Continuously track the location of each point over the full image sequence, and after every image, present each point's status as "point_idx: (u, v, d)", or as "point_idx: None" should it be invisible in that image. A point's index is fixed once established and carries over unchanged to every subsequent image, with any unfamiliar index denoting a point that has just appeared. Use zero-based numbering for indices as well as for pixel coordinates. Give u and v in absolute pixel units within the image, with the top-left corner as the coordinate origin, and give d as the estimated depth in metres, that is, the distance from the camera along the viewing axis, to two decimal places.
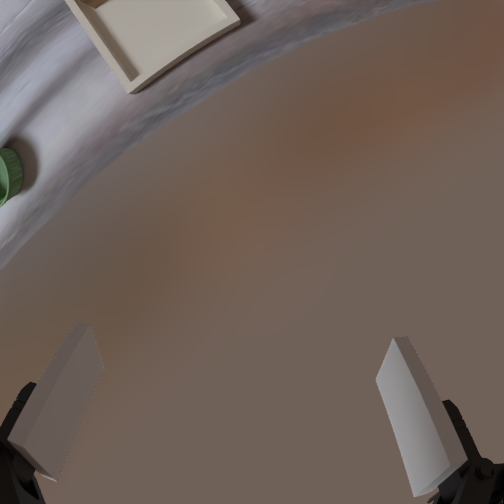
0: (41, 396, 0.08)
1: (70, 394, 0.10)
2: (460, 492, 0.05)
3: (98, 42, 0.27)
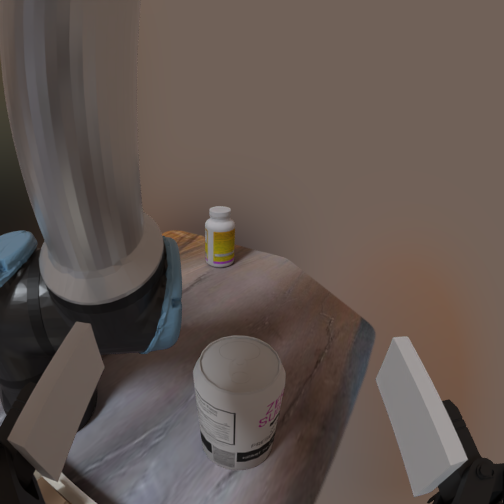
0: (41, 396, 0.08)
1: (70, 394, 0.10)
2: (460, 492, 0.05)
3: None
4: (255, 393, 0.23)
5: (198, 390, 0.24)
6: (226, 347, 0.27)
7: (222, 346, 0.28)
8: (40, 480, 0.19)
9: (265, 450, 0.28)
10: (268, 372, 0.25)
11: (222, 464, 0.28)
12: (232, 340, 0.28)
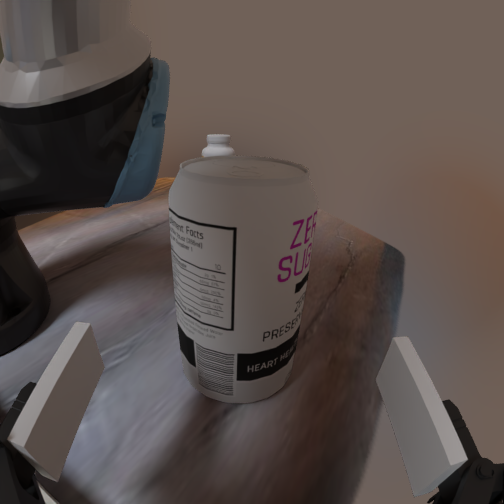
0: (41, 396, 0.08)
1: (70, 394, 0.10)
2: (460, 492, 0.05)
3: None
4: (272, 186, 0.14)
5: (174, 203, 0.15)
6: (222, 161, 0.18)
7: (218, 161, 0.18)
8: None
9: (284, 360, 0.19)
10: (291, 174, 0.16)
11: (212, 391, 0.19)
12: (232, 159, 0.19)
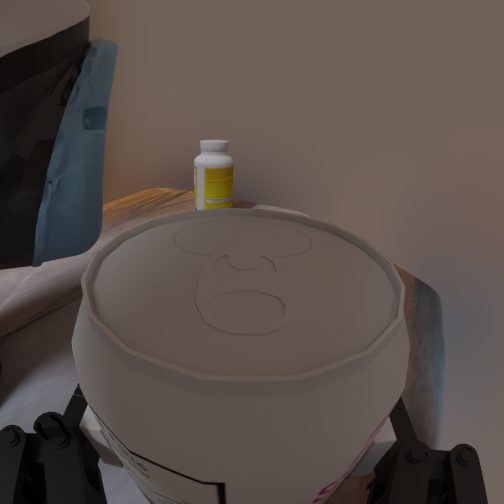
0: None
1: None
2: (392, 480, 0.06)
3: None
4: (332, 383, 0.04)
5: None
6: (197, 230, 0.09)
7: (187, 227, 0.09)
8: None
9: None
10: (362, 293, 0.06)
11: None
12: (220, 218, 0.10)
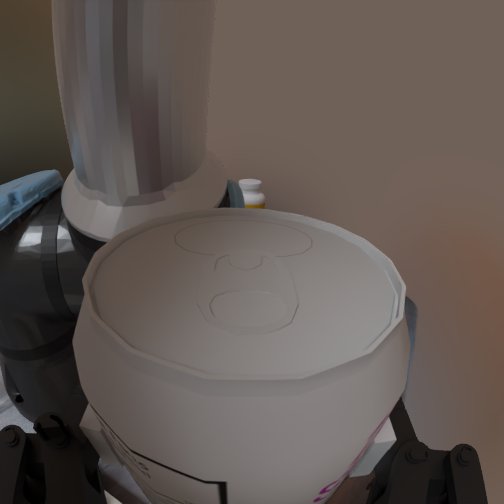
0: None
1: None
2: (391, 480, 0.06)
3: None
4: (334, 382, 0.04)
5: None
6: (199, 230, 0.09)
7: (188, 227, 0.09)
8: None
9: None
10: (363, 293, 0.06)
11: None
12: (221, 218, 0.10)
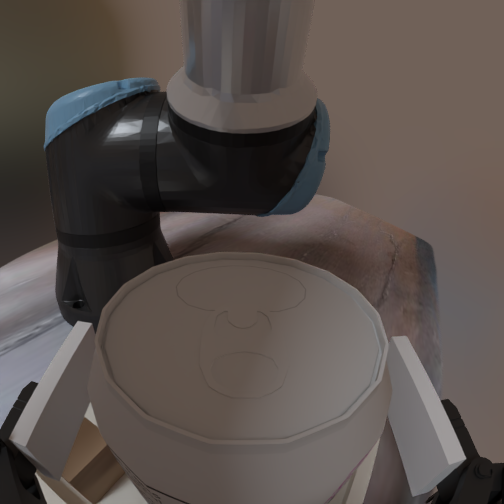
0: (43, 395, 0.08)
1: (71, 393, 0.10)
2: (459, 491, 0.05)
3: None
4: (315, 440, 0.05)
5: None
6: (198, 278, 0.09)
7: (189, 275, 0.09)
8: None
9: None
10: (349, 351, 0.07)
11: None
12: (220, 263, 0.10)
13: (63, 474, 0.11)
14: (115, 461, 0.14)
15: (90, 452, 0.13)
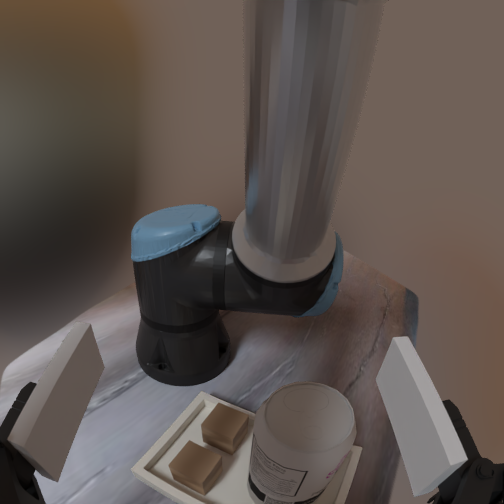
0: (41, 396, 0.08)
1: (70, 394, 0.10)
2: (460, 492, 0.05)
3: None
4: (332, 449, 0.18)
5: (263, 449, 0.19)
6: (290, 397, 0.23)
7: (286, 395, 0.23)
8: (218, 406, 0.34)
9: (320, 494, 0.23)
10: (342, 423, 0.20)
11: None
12: (296, 387, 0.24)
13: (197, 479, 0.24)
14: (219, 468, 0.27)
15: (210, 465, 0.26)
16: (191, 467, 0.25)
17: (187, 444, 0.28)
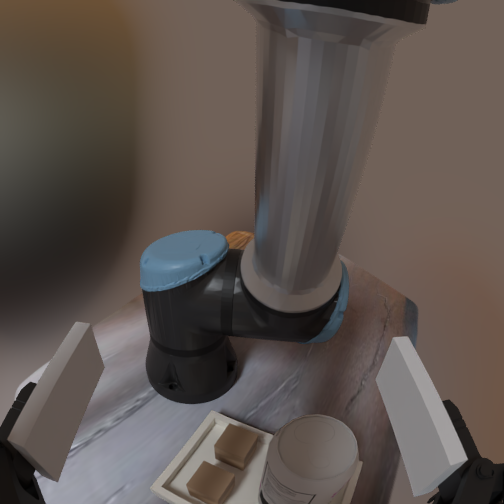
0: (41, 396, 0.08)
1: (70, 394, 0.10)
2: (460, 492, 0.05)
3: None
4: (338, 476, 0.19)
5: (277, 476, 0.21)
6: (300, 429, 0.24)
7: (296, 428, 0.24)
8: (229, 426, 0.35)
9: None
10: (346, 453, 0.21)
11: None
12: (305, 420, 0.25)
13: (213, 497, 0.25)
14: (232, 484, 0.29)
15: (224, 483, 0.27)
16: (207, 486, 0.27)
17: (202, 464, 0.29)
